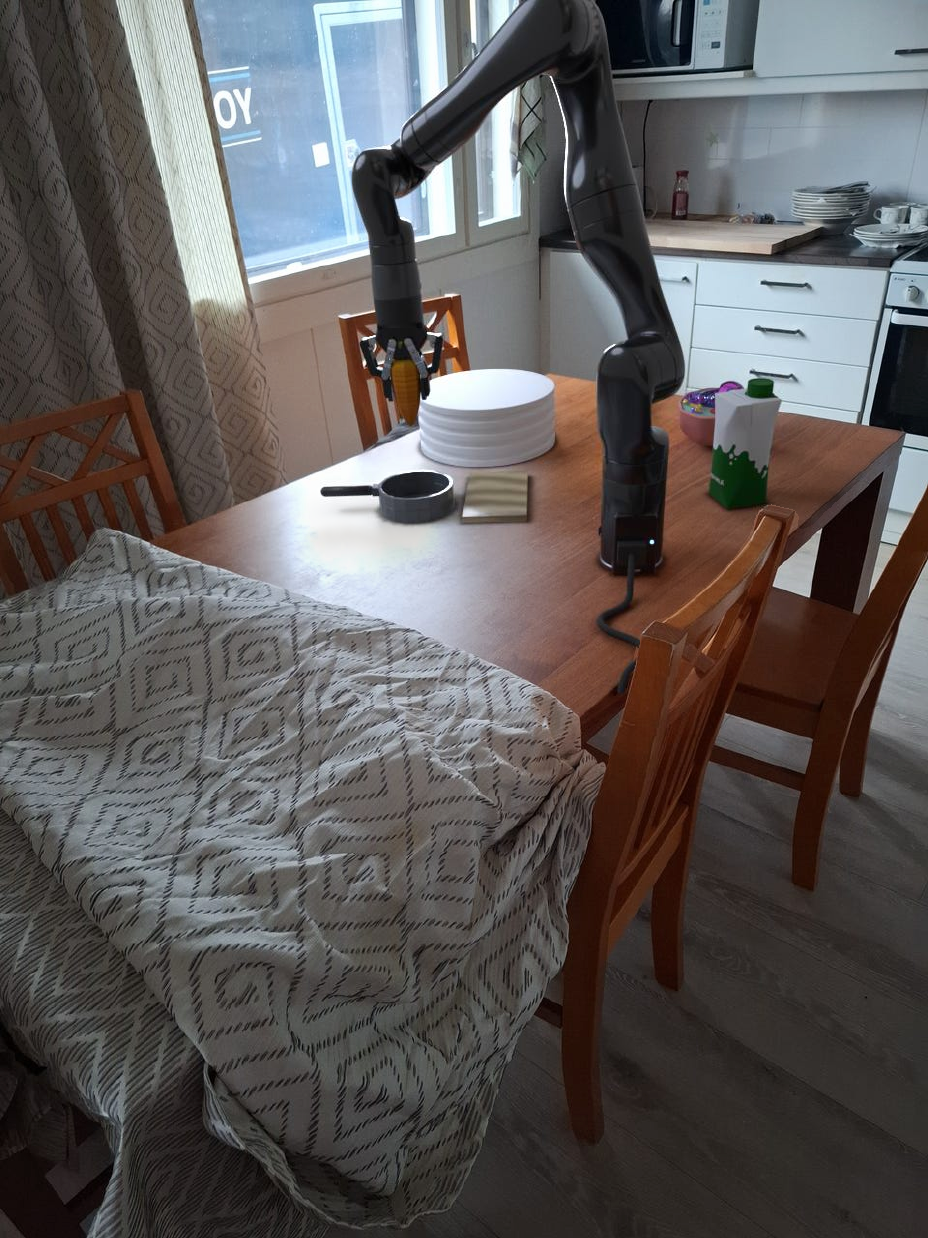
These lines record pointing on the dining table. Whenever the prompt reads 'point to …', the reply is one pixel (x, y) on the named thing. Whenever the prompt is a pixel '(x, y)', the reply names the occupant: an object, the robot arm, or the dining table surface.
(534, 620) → the dining table surface
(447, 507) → the pan
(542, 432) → the plate stack
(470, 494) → the board
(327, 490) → the pan handle
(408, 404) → the carrot
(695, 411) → the cell model
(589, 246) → the robot arm
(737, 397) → the milk carton
